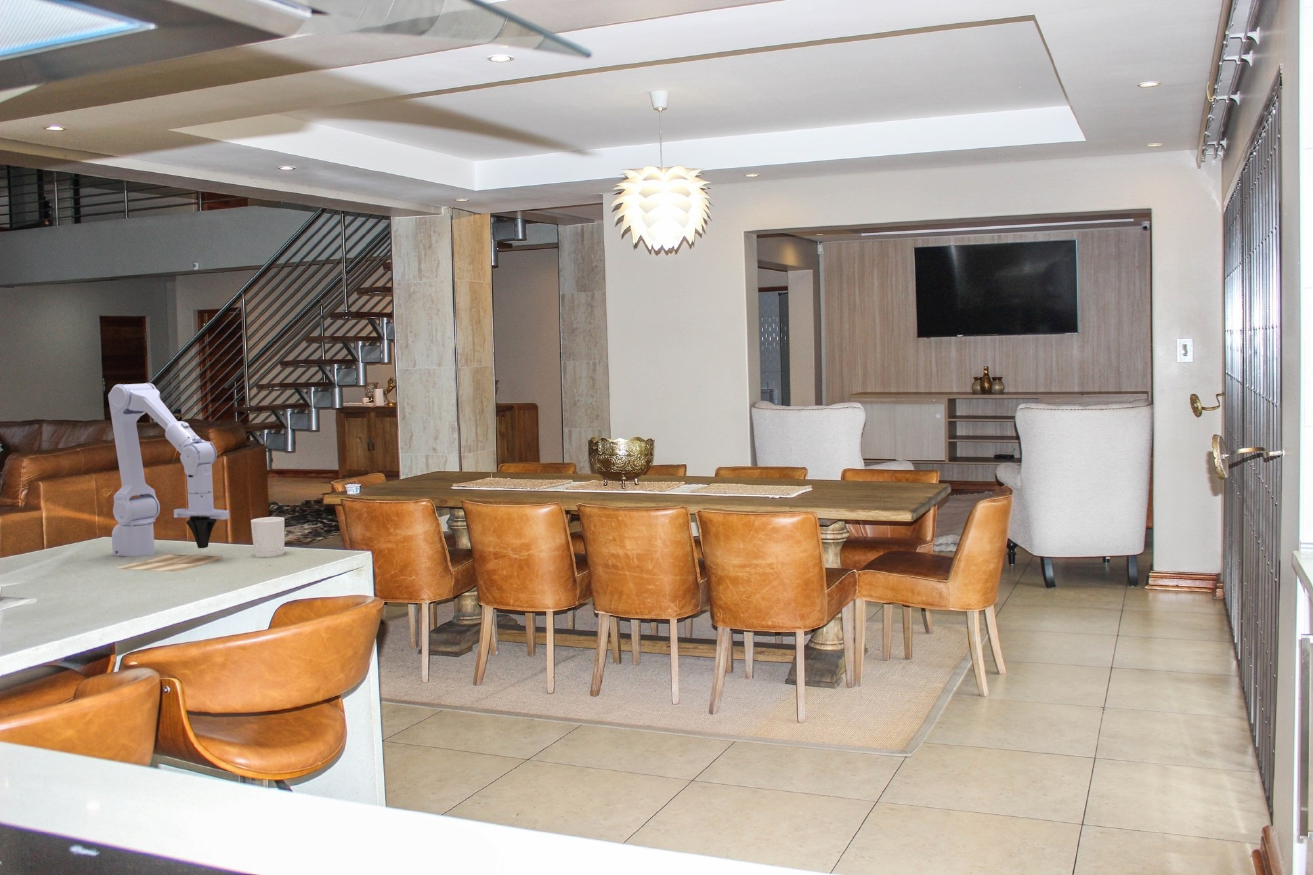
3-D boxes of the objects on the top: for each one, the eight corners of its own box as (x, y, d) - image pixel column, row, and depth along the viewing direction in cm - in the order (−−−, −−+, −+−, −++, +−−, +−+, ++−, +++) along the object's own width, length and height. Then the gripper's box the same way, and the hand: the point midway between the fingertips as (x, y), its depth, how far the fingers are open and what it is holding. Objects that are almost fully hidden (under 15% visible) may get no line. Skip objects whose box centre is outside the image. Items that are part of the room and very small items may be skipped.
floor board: (115, 573, 268) (114, 568, 268) (139, 566, 276) (139, 561, 276) (178, 576, 263) (178, 571, 263) (201, 569, 270) (201, 564, 270)
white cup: (291, 556, 286) (289, 516, 285) (278, 562, 278) (276, 521, 277) (261, 556, 287) (259, 516, 286) (247, 562, 279) (245, 521, 278)
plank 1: (144, 566, 276) (143, 561, 276) (167, 559, 283) (166, 554, 283) (171, 567, 273) (171, 562, 273) (194, 560, 281) (193, 555, 281)
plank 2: (173, 567, 273) (172, 562, 273) (195, 560, 281) (195, 555, 281) (201, 569, 271) (200, 564, 271) (223, 561, 278) (222, 556, 278)
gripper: (163, 493, 274) (166, 549, 275) (214, 495, 270) (217, 551, 271) (184, 489, 281) (186, 544, 282) (233, 491, 276) (236, 546, 278)
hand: (202, 547), depth 277 cm, fingers closed
